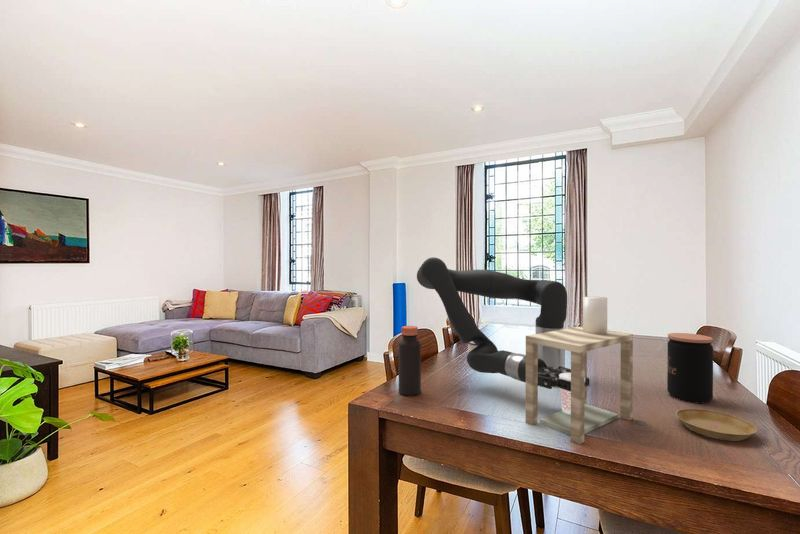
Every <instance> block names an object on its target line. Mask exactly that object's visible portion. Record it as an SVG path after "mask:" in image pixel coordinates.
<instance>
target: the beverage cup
mask: <svg viewBox="0 0 800 534" xmlns="http://www.w3.org/2000/svg"><path fill="white" fill-rule="evenodd" d="M559 379H564V380H567V381H571V373H561V374H560V375H559ZM560 401H561V403H560V404H561V411H563V412H564V413H567V414H570V415H571V391H568V390H564V389H561V388H560Z"/></svg>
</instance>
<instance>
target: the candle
mask: <svg viewBox="0 0 800 534" xmlns="http://www.w3.org/2000/svg"><path fill="white" fill-rule="evenodd" d="M582 299H583V300H582V327H583V332H586V333H591V334H607V330H608V297H605V296H583V297H582Z"/></svg>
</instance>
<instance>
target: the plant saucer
mask: <svg viewBox="0 0 800 534" xmlns="http://www.w3.org/2000/svg"><path fill="white" fill-rule="evenodd" d="M675 416H676V417H677V418H678V419H679V421H680V422H681V423H682V424H683V426H685V427H686V428H687V429H688V428H689V429H688V430H690V431H691V432H693V431H694V433H696V434H698V435H700V434H701V436H703V435H704V437H706V438H710V437H711V438H710V439H714V438H715V440H719V439H720V440H719V441H726V440H727V441H728V442H741V441H743V440H746V439H749V438H750V437H752V436H753V435H754V434H756V433H757V431H758V428H757V426H755V425H754V424H753V423H752V422H749V421H748V420H746V419H743V418H740V417H738V416H735V415H733V414H728V413H726V412H721V411H716V410H710V409H705V408H683V409H678V410H676V412H675ZM691 420H692V421H693V422H695V423H696V422H698V423H699V424H698V423H696V424H698V426H699V425H700V426H701V427H700V426H699V427H698V426H697V425H696V426H695V424H694V425H692V424H690V423H688V422H690V421H691ZM711 422H712V423H714V422H716V423H720V424H719V425H720V426H721V427H720V428H719V427H718V428H719V430H718V429H717V430H716V429H715V430H714V429H712V430H711V429H710V428H709V427H707V426H709V425H710V424H712V423H711ZM708 423H709V424H708ZM707 424H708V425H707ZM703 425H704V426H703ZM706 425H707V426H706ZM722 425H723V426H722ZM724 425H725V426H724ZM705 426H706V427H707V428H706V427H705ZM712 427H713V426H712ZM709 429H710V430H709ZM727 441H726V442H727Z"/></svg>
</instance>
